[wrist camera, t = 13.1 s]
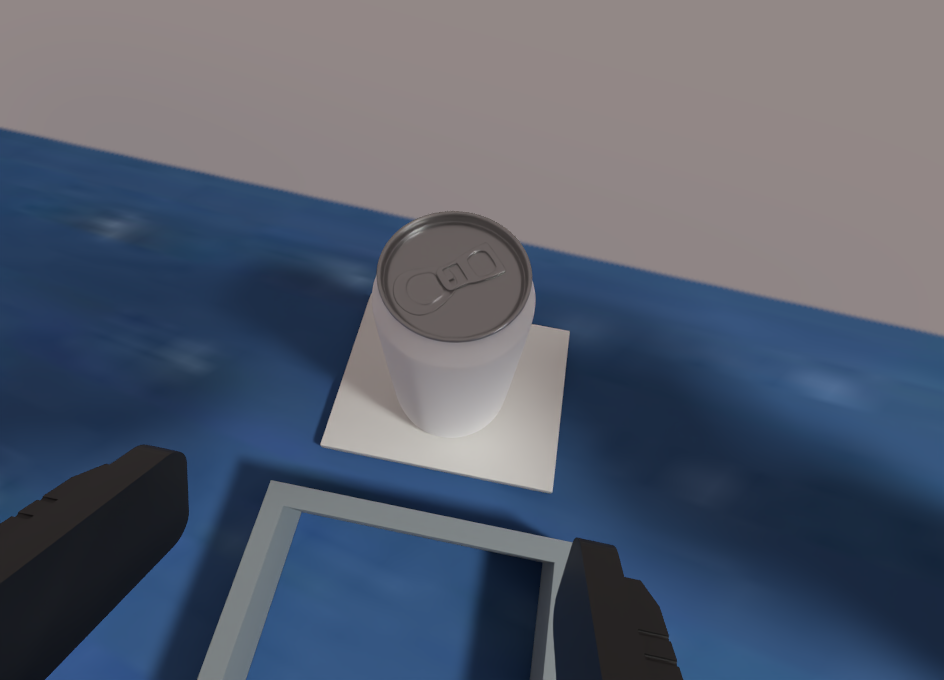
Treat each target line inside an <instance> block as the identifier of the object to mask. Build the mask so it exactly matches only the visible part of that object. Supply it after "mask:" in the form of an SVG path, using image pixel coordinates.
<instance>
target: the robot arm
mask: <svg viewBox="0 0 944 680" xmlns="http://www.w3.org/2000/svg"><path fill="white" fill-rule="evenodd" d="M188 516H189V505H188V481H187V461H186V457H185V455H184V454H183V453H181V452H178V451H174V450H169V449H164V448H160V447H155V446H150V445H139V446H137V447H135V448H133V449H132V450H130V451H129V452H128V453H126V454H125V455H123V456H122V457H120V458H119V459H117V460H116V461H114V462H113V463H111V464H110V465H108V464H104V465H102V466H99V467H97V468H94V469H92V470H89V471H87V472H84V473H82V474H79V475H77V476H74V477H72V478H70V479H69V480H67V481H65V482H64V483H62V484H61V485H59V486H58V487H56V488H55V489H53V490H52V491H50V492H48V493H47V494H45V495H44V496H43V498H42V499H41V500H40V501H39V500H36V501H35V502H33V503H32V504H30V505H28V506H27V507H25V508H24V509H22V510H21V511H19V512H18V515H17V516H16V517H12V516H11V517H10V518H8V519H7V520H5V521H4V522H2V523H1V524H0V680H45V679H46V678H47V677H48V676H49V675H50V674H51V673H52V672H53V671H54V670H55V669H56V668H57V667H58V666H59V665H60V663H61V662H62V661H63V660H64V659H65V658H66V657H67V656H68V655H69V654H70V653H71V652H72V651H73V650H74V649H75V648H76V647H77V646H78V645H79V644H80V643H81V642H82V641H83V640H84V639H85V638H86V637H87V636H88V634H89V633H90V632H91V631H92V630H93V629H94V628H95V627H96V626H97V625H98V624H99V623H100V622H101V621H102V620H103V619H104V618H105V617H106V616H107V615H108V614H109V613H110V612H111V611H112V610H113V609H114V608H115V607H116V606H117V604H118V603H119V602H120V601H121V600H122V599H123V598H124V597H125V596H126V595H127V594H128V593H129V592H130V591H131V590H132V589H133V588H134V587H135V586H136V585H137V584H138V583H139V582H140V581H141V580H142V579H143V578H144V577H145V575H146V574H147V573H148V572H149V571H150V570H151V569H152V568H153V567H154V566H155V565H156V564H157V563H158V562H159V561H160V560H161V559H162V558H163V557H164V556H165V555H166V554H167V553H168V552H169V551H170V550H171V549H172V548H173V546H174V545H175V544H176V543H177V542H178V540H179V539H180V537H181V535H182V533H183V532H184V529H185V527H186V524H187V521H188ZM668 638H669V635H668V632H667V628H666V625H665V622H664V619H663V616H662V613H661V610H660V607H659V606H658V604H657V603H656V601H655V600H654V599H653V597H652V596H651V594H650V593H649V592H648V590H647V589H646V587H645V586H644V585H643V583H642V582H641V581H640V580H635V579H631V578H626V577H624V574H623V570H622V567H621V563H620V559H619V555H618V552H617V549H616V547H615V546H613V545H609V544H604V543H600V542H595V541H590V540H586V539H581V538H575V539H574V541H573V543H572V546H571V549H570V552H569V556H568V559H567V562H566V565H565V569H564V572H563V575H562V578H561V582H560V585H559V588H558V592H557V595H556V599H555V605H554V613H553V640H554V655H555V669H556V680H683V678H682V675H681V672H680V668H679V667H677V659H676V656H675V653H674V650H673V647H672V644H671V642H670V641H669V639H668Z"/></svg>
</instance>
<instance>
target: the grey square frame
mask: <svg viewBox="0 0 944 680" xmlns="http://www.w3.org/2000/svg"><path fill="white" fill-rule="evenodd" d="M301 512H304V513H309V514H313V515H318V516H323V517H328V518H333V519H337V520H342V521H347V522H352V523H356V524H361V525H366V526H371V527H376V528H380V529H385V530H390V531H395V532H399V533H404V534H409V535H414V536H419V537H423V538H428V539H433V540H438V541H442V542H447V543H452V544H457V545H461V546H466V547H471V548H476V549H481V550H485V551H490V552H495V553H500V554H504V555H509V556H514V557H519V558H524V559H528V560H533V561H538V562H543V564H542V573H541V582H540V591H539V600H538V609H537V618H536V628H535V637H534V646H533V655H532V664H531V673H530V680H556V669H555V655H554V640H553V613H554V605H555V599H556V595H557V592H558V588H559V585H560V582H561V578H562V575H563V572H564V569H565V565H566V562H567V559H568V556H569V552H570V549H571V546H572V542H567V541H562V540H558V539H553V538H548V537H543V536H538V535H533V534H529V533H524V532H519V531H514V530H509V529H504V528H500V527H495V526H490V525H485V524H480V523H476V522H471V521H466V520H461V519H456V518H451V517H447V516H442V515H437V514H432V513H427V512H422V511H418V510H413V509H408V508H403V507H398V506H393V505H389V504H384V503H379V502H374V501H369V500H365V499H360V498H355V497H350V496H345V495H340V494H336V493H331V492H326V491H321V490H316V489H311V488H307V487H302V486H297V485H292V484H287V483H282V482H278V481H273V480H271V481H270V484H269V487H268V490H267V492H266V495H265V498H264V500H263V503H262V506H261V508H260V511H259V514H258V517H257V519H256V522H255V525H254V527H253V530H252V533H251V535H250V538H249V541H248V544H247V546H246V549H245V552H244V554H243V557H242V560H241V562H240V565H239V568H238V571H237V573H236V576H235V579H234V581H233V584H232V587H231V590H230V592H229V595H228V598H227V600H226V603H225V606H224V608H223V611H222V614H221V617H220V619H219V622H218V625H217V627H216V630H215V633H214V635H213V638H212V641H211V644H210V646H209V649H208V652H207V654H206V657H205V660H204V662H203V665H202V668H201V671H200V673H199V676H198V679H197V680H246V677H247V674H248V671H249V668H250V665H251V662H252V659H253V656H254V653H255V650H256V647H257V644H258V641H259V638H260V635H261V632H262V629H263V626H264V623H265V620H266V617H267V614H268V611H269V608H270V605H271V602H272V599H273V596H274V593H275V590H276V587H277V584H278V581H279V578H280V575H281V572H282V569H283V566H284V563H285V560H286V557H287V554H288V551H289V548H290V545H291V542H292V539H293V536H294V533H295V530H296V527H297V524H298V521H299V518H300V515H301Z"/></svg>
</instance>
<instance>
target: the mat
mask: <svg viewBox="0 0 944 680" xmlns="http://www.w3.org/2000/svg"><path fill="white" fill-rule="evenodd" d="M569 334H570V331H566V330H561V329H555V328H550V327H545V326H540V325H534V324H531V327H530V330H529V333H528V336H527V339H526V342H525V345H524V348H523V351H522V354H521V357H520V359H519V362H518V365H517V368H516V371H515V373H514V376H513V379H512V382H511V384H510V387H509V390H508V393H507V395H506V398H505V400H504V403H503V405H502V407H501V409H500V411H499V412H498V414H497V415H496V417H495V418H494V419H493V420H492V421H491V422H490V423H489V424H488V425H487V426H485V427H484V428H483V429H481V430H479V431H477V432H475V433H473V434H470V435H467V436H463V437H457V438H446V437H439V436H435V435H432V434H430V433H427V432H425V431H423V430H422V429H420V428H419V427H417V426H416V425H415V424H414V423H413V422H412V421H411V420H410V419H409V418H408V416H407V415H406V414H405V412H404V411H403V409H402V407H401V406H400V403H399V401H398V398H397V396H396V392H395V389H394V386H393V383H392V379H391V376H390V373H389V369H388V366H387V362H386V359H385V355H384V352H383V348H382V345H381V341H380V338H379V334H378V331H377V327H376V323H375V319H374V314H373V308H372V294H371V295H370V298H369V301H368V304H367V307H366V310H365V313H364V316H363V319H362V322H361V325H360V328H359V331H358V334H357V337H356V340H355V343H354V346H353V349H352V352H351V355H350V358H349V361H348V364H347V367H346V370H345V373H344V376H343V379H342V382H341V385H340V388H339V391H338V394H337V397H336V399H335V402H334V405H333V408H332V411H331V414H330V417H329V420H328V423H327V426H326V429H325V432H324V435H323V438H322V441H321V444H320V445H321V446H322V447H323V448H328V449H333V450H338V451H343V452H348V453H353V454H358V455H363V456H368V457H373V458H378V459H382V460H387V461H392V462H397V463H402V464H407V465H412V466H417V467H422V468H427V469H432V470H437V471H441V472H446V473H451V474H456V475H461V476H466V477H471V478H476V479H481V480H486V481H491V482H495V483H500V484H505V485H510V486H515V487H520V488H525V489H530V490H535V491H540V492H545V493H552V491H553V482H554V473H555V464H556V454H557V445H558V436H559V426H560V417H561V408H562V399H563V389H564V380H565V371H566V362H567V352H568V343H569Z"/></svg>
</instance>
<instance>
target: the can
mask: <svg viewBox="0 0 944 680" xmlns="http://www.w3.org/2000/svg"><path fill="white" fill-rule="evenodd" d="M372 308H373V314H374V319H375V323H376V327H377V331H378V334H379V338H380V341H381V345H382V348H383V352H384V355H385V359H386V362H387V366H388V369H389V373H390V376H391V379H392V383H393V386H394V389H395V392H396V396H397V398H398V401H399V403H400V406H401V407H402V409H403V411H404V412H405V414H406V415H407V416H408V418H409V419H410V420H411V421H412V422H413V423H414V424H415V425H416V426H417V427H419V428H420V429H422V430H423V431H425V432H427V433H430V434H432V435H435V436H439V437H446V438H457V437H463V436H467V435H470V434H473V433H475V432H477V431H479V430H481V429H483V428H484V427H485V426H487V425H488V424H489V423H490V422H491V421H492V420H493V419H494V418H495V417H496V415H497V414H498V412H499V411H500V409H501V407H502V405H503V403H504V400H505V398H506V395H507V393H508V390H509V387H510V384H511V382H512V379H513V376H514V373H515V371H516V368H517V365H518V362H519V359H520V357H521V354H522V351H523V348H524V345H525V342H526V339H527V336H528V333H529V330H530V327H531V324H532V320H533V316H534V311H535V290H534V285H533V281H532V270H531V265H530V261H529V258H528V256H527V253H526V251H525V249H524V248H523V246H522V245H521V243H520V242H519V241H518V239H517V238H516V237H515V236H514V235H513V234H512V233H511V232H510V231H508V230H507V229H506V228H505V227H503V226H502V225H500V224H499V223H497V222H495V221H493V220H491V219H489V218H486V217H483V216H480V215H477V214H473V213H468V212H459V211H449V212H448V211H447V212H439V213H433V214H429V215H426V216H423V217H420V218H418V219H415V220H413V221H412V222H410V223H408V224H406V225H405V226H404V227H402V228H401V229H400V230H398V231H397V232H396V233H395V234H394V235H393V236H392V237H391V238H390V240H389V241H388V242H387V244H386V245H385V247H384V249H383V251H382V253H381V255H380V258H379V261H378V266H377V275H376V278H375V281H374V284H373V290H372Z"/></svg>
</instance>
